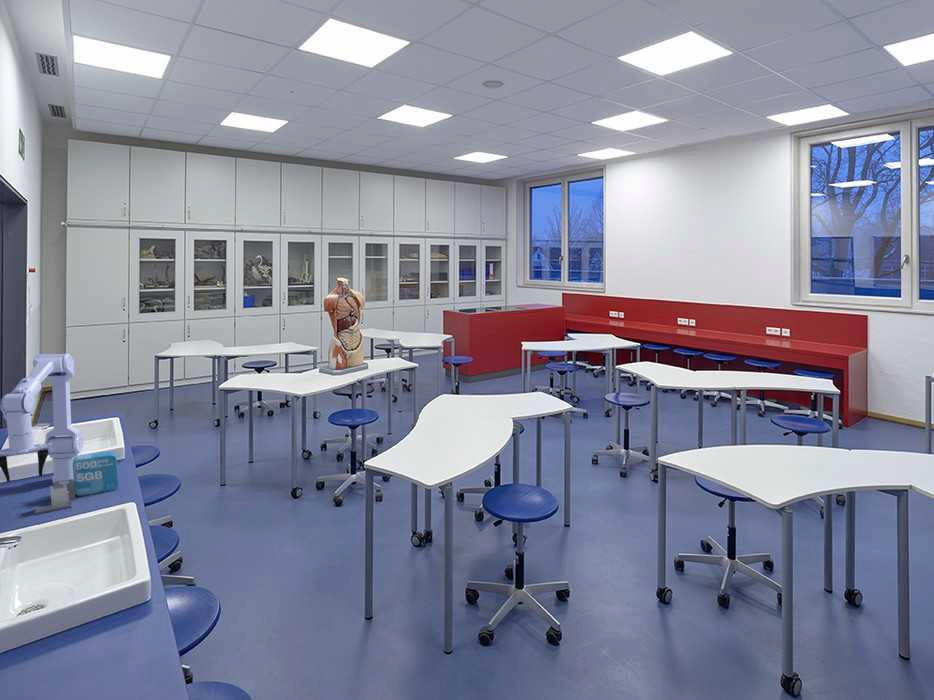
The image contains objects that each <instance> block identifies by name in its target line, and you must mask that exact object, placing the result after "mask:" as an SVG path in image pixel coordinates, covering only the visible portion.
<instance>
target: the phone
mask: <svg viewBox="0 0 934 700" xmlns="http://www.w3.org/2000/svg"><path fill="white" fill-rule="evenodd" d="M67 508H68V509H72V503H71V501H68V506H66V507H61V508H56V509H52V505H46V506H39V507H35V508H34V515H35V516H37V515H41V514H42V515H43V514H46V513H52V512H56V511H61V510H62V509H63V510H68V509H67ZM63 510H62V511H63Z"/></svg>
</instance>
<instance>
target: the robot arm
mask: <svg viewBox="0 0 934 700" xmlns="http://www.w3.org/2000/svg"><path fill="white" fill-rule="evenodd" d="M32 367H33V369H31V372H30V374H29V375H28V377H25V378H24V377H23V378H22V379H21V380H20V381H19V383H18V384H17V385H16V386H15V388H14V389H13V390H12V391H11V393H7V394H5V395H4V396H2V398H1V400H0V411H1V413H2V414H3V419H4V420H6V429H7V438H8V445H9V446H8V448H3V449H0V469H1V471H2V472H3V474H4V476H5V479H6V482H7V483H8V482H9V483H10V482H11V478H10V472H9V469H8V468H9V467H8V457H14V456H21V455H22V456H23V455H28V454H34V453H36V454H37V460H38V461H37V462H38V467H37V469H38V476H39V477H43V470H44V466H45V462H46V461H47V458H48V457H49V458H51V459H52V469H53V470H52V471H53V476H52V477H51V481H52V484H53V485H54V482H58V481H64V480H69V479H73V481H74V477H73V466H72V464H73V459H74V458H75V457H77V456H79V455H78V454H81V452H82V451H83V448H84V440H83V436H82V431H81V430H80V429H78V428H76V427H74V426H72V410H71V409H72V406H71V386H70V385H71V381H70V379H71V378H73V377H75V361H74V358H73V357H72V355H71V354H70V353H68V352H67V353H52V354H45V353H44V354H42V353H40V354H39V353H38V354H35V356H34V358H33V359H32ZM45 379H49V381H51V384H52V385H51V387H52V413H53V417H52V418H53V419H52V420H53V428H52V429H51V430H49V431H48V432H47V433H46V434H45V441H44V443H38V444H37V443H36V444H34V436H33V426H32V419H31V418H32V417H31V412H32V411H33V410H34V406H35V401H36V397H37V396H38V394H39V393H40V391H41V390H42V388H43V387H42V382H43V381H44V380H45Z"/></svg>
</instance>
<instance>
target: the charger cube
mask: <svg viewBox="0 0 934 700" xmlns="http://www.w3.org/2000/svg"><path fill="white" fill-rule="evenodd" d="M65 483H66V485H67V491H69V496H70V500H73V498H74V499H76V494H75V486H74V481H73V479H69V480H64V481H58V482H54V484H53V486H54V485H60V484H65Z"/></svg>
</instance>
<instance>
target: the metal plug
mask: <svg viewBox="0 0 934 700" xmlns="http://www.w3.org/2000/svg"><path fill="white" fill-rule="evenodd" d="M49 489H50V504H51V505H52V509H56V508H61V507H66V506H68V502H69V501H68V494H67V485H66V483H65V484H60V485H54V484H53V485H50V486H49Z"/></svg>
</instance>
